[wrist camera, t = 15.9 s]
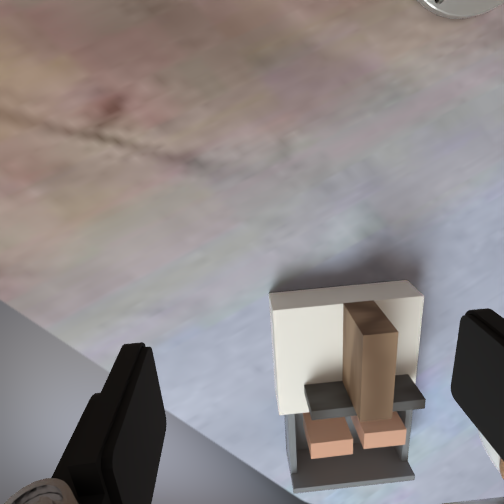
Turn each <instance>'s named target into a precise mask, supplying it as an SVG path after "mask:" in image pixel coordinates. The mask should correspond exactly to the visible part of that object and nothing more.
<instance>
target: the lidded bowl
mask: <svg viewBox="0 0 504 504" xmlns="http://www.w3.org/2000/svg"><path fill="white" fill-rule="evenodd" d="M478 433H479V437H480V440H481V442H482V445H483V447H484V449H485V451H486V453H487V454H488V456H489V458H490V460H491V461H492V462H493V464H494V465H495V467H496V468H497V470H498V471H499V472H500V474H501V476H502V478H503V479H504V461H503V460H502V459H501V457H500V456H499V455H498V454H497V452H496V451H495V450H494V449H493V447H492V446H491V445H490V444H489V442H488V441H487V440H486V438H485V437H484V436H483V435H482V433H481V432H480V431H479V430H478Z"/></svg>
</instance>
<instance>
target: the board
mask: <svg viewBox="0 0 504 504" xmlns="http://www.w3.org/2000/svg"><path fill="white" fill-rule="evenodd" d="M371 300H374V301H375V303H376V304H377V305H378V306H379V308H380V309H381V310H382V312H383V313H384V314H385V315H386V317H387V318H388V319H389V320H390V322H391V323H392V324H393V326H394V327H395V328H396V329H397V331H398V332H399V333H398V346H397V359H396V373H395V375H403V374H408V375H409V376H410V378H411V379H412V380H413V382H414V383H415V382H416V372H417V362H418V352H419V342H420V332H421V323H422V313H423V303H424V295H423V294H422V293H421V292H419V291H418V290H417V289H416V288H415V287H414V286H413V285H412V284H411V283H410V282H409V281H408V280H400V281H389V282H379V283H369V284H358V285H348V286H337V287H327V288H316V289H306V290H295V291H285V292H275V293H269V304H270V319H271V334H272V349H273V364H274V379H275V392H276V398H277V404H278V410H279V415H287V414H296V413H306V412H309V409H308V405H307V401H306V398H305V394H304V385H307V384H316V383H326V382H336V381H342V370H343V303H351V302H361V301H371Z"/></svg>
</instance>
